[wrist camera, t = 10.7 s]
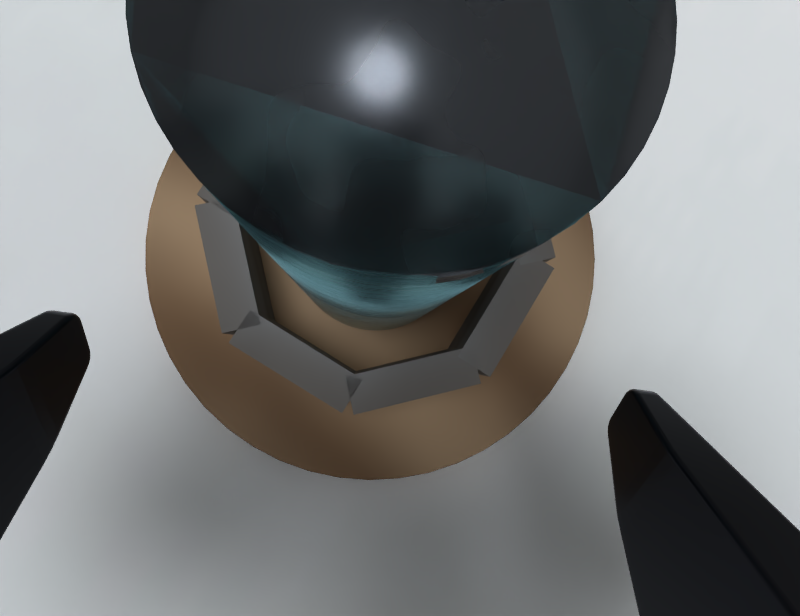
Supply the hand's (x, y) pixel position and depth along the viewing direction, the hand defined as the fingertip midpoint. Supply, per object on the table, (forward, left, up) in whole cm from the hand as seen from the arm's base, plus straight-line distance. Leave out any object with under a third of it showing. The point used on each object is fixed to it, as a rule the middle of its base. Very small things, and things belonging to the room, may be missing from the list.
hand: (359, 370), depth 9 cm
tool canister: (+3, +1, -8) cm, 8 cm away
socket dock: (+3, +1, -9) cm, 10 cm away
